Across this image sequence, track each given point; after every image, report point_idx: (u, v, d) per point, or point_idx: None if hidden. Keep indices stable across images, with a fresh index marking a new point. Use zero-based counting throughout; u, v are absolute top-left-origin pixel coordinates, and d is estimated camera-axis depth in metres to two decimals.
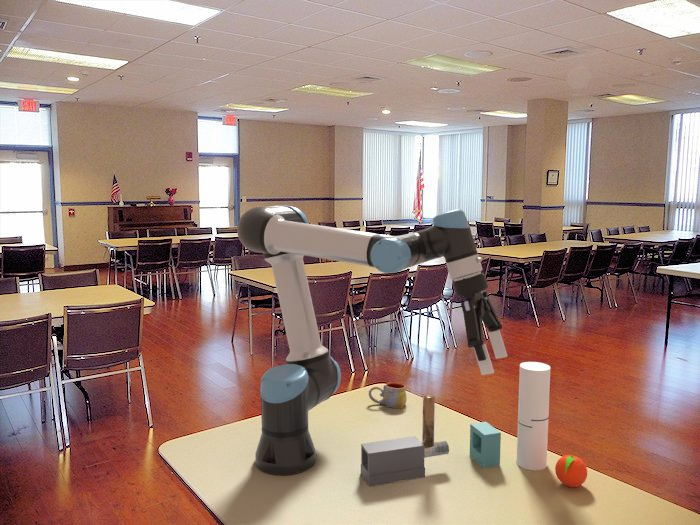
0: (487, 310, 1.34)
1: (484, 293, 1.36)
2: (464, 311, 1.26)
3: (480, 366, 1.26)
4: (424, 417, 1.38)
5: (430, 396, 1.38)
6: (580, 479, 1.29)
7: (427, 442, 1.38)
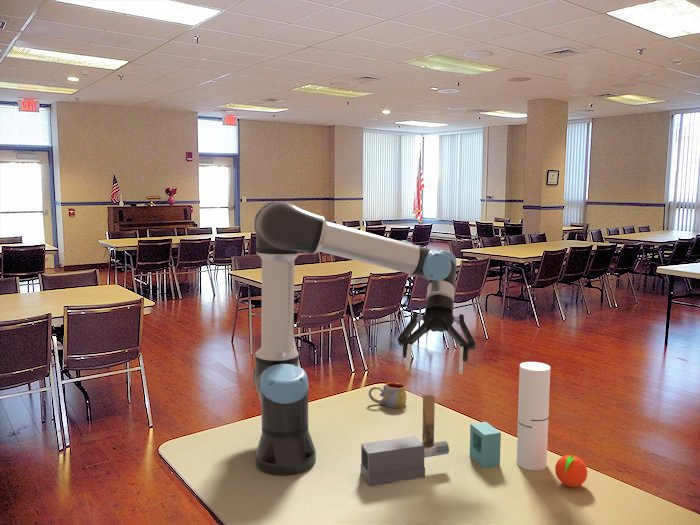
0: (427, 330, 1.56)
1: None
2: None
3: (462, 363, 1.45)
4: (424, 417, 1.38)
5: (430, 396, 1.38)
6: (580, 479, 1.29)
7: (427, 442, 1.38)
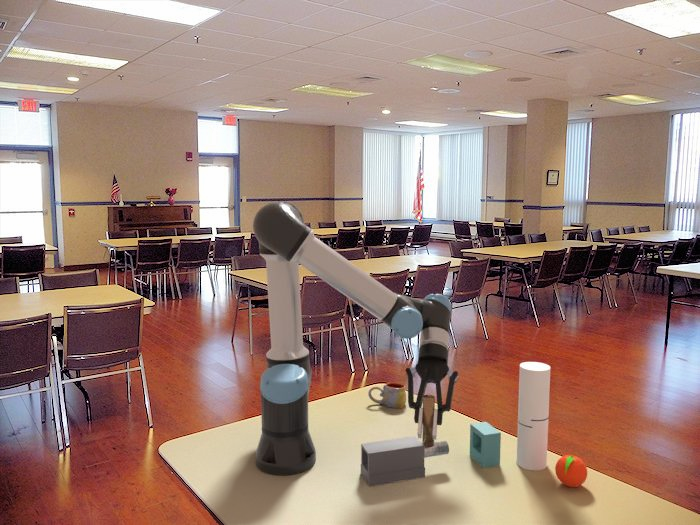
0: (426, 383, 1.45)
1: None
2: (454, 379, 1.42)
3: (436, 427, 1.35)
4: (424, 417, 1.38)
5: (430, 396, 1.38)
6: (580, 479, 1.29)
7: (427, 442, 1.38)
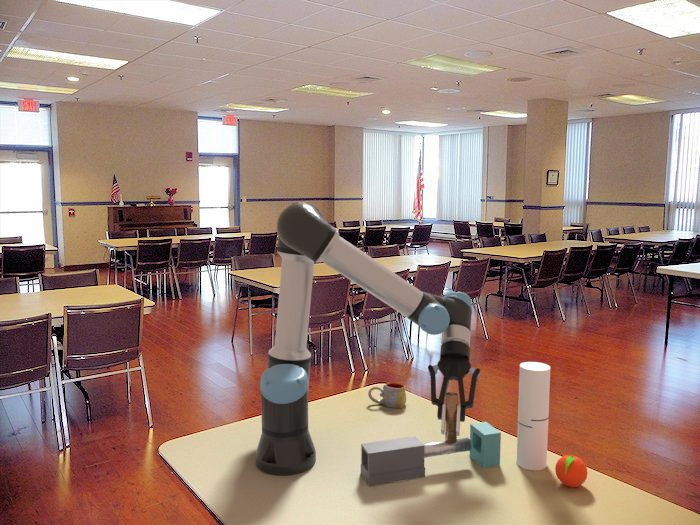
0: (449, 380, 1.47)
1: None
2: (477, 376, 1.44)
3: (459, 424, 1.37)
4: (447, 414, 1.40)
5: (453, 393, 1.40)
6: (580, 479, 1.29)
7: (450, 438, 1.40)
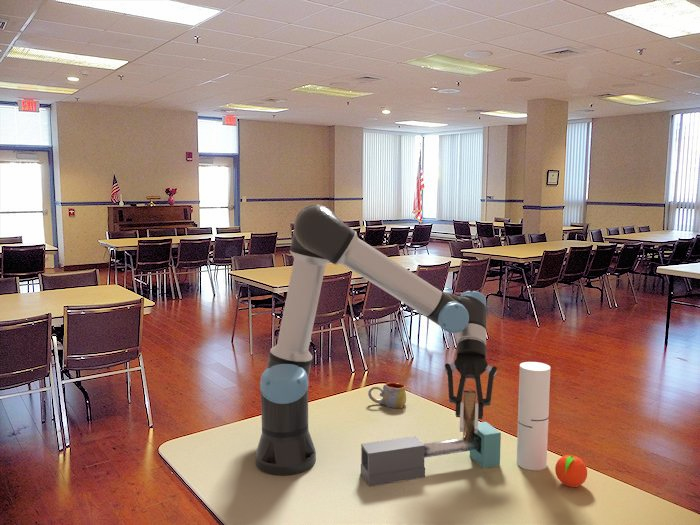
0: None
1: None
2: (494, 374, 1.45)
3: (477, 421, 1.38)
4: (465, 412, 1.41)
5: (471, 391, 1.42)
6: (580, 479, 1.29)
7: (468, 436, 1.41)
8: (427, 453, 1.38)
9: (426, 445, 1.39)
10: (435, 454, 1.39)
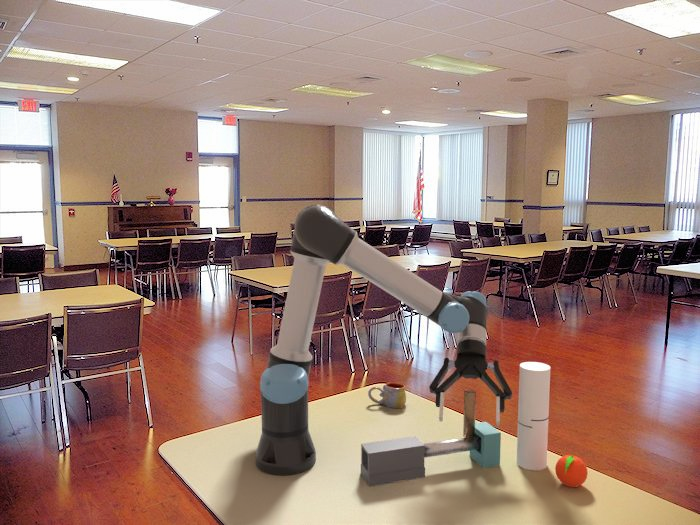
0: (459, 377, 1.49)
1: None
2: (498, 368, 1.46)
3: (499, 414, 1.39)
4: (465, 412, 1.41)
5: (471, 391, 1.42)
6: (580, 479, 1.29)
7: (468, 436, 1.41)
8: (427, 453, 1.38)
9: (426, 445, 1.39)
10: (435, 454, 1.39)
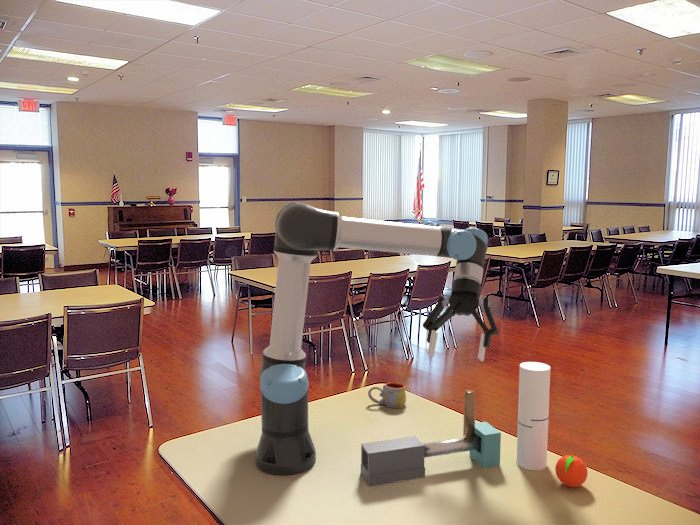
0: (454, 314, 1.56)
1: None
2: (488, 305, 1.50)
3: (482, 350, 1.45)
4: (465, 412, 1.41)
5: (471, 391, 1.42)
6: (580, 479, 1.29)
7: (468, 436, 1.41)
8: (427, 453, 1.38)
9: (426, 445, 1.39)
10: (435, 454, 1.39)
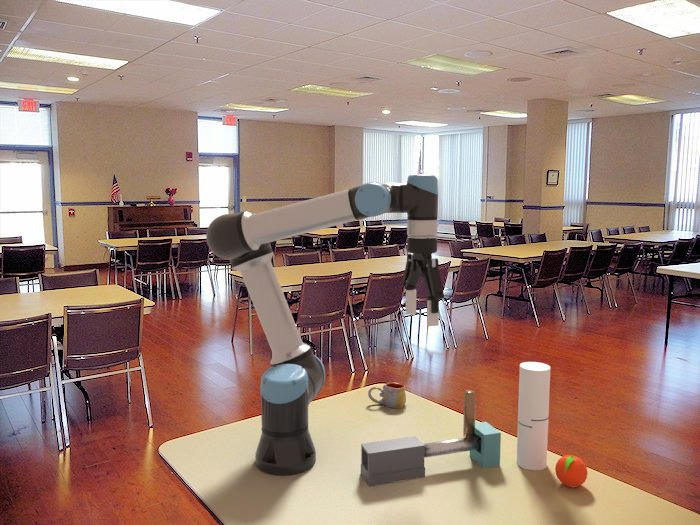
0: None
1: None
2: (430, 267, 1.39)
3: (429, 318, 1.40)
4: (465, 412, 1.41)
5: (471, 391, 1.42)
6: (579, 479, 1.29)
7: (468, 436, 1.41)
8: (427, 453, 1.38)
9: (426, 445, 1.39)
10: (435, 454, 1.39)
